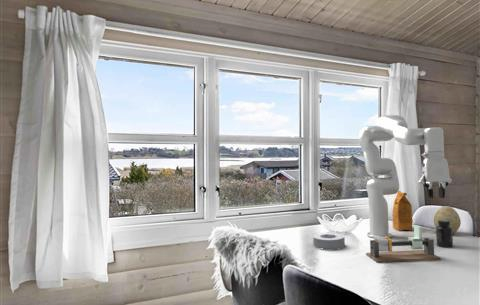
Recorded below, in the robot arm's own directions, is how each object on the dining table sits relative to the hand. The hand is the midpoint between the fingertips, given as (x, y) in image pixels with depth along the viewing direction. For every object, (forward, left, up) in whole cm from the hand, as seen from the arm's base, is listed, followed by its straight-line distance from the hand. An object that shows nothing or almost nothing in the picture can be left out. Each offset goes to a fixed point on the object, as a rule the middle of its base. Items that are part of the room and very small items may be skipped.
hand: (436, 197), depth 159 cm
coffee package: (-55, +11, -26) cm, 62 cm away
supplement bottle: (-15, +12, -26) cm, 32 cm away
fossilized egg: (-39, +28, -26) cm, 54 cm away
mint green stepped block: (0, -10, -22) cm, 24 cm away
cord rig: (0, -16, -25) cm, 30 cm away
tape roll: (-25, -41, -26) cm, 55 cm away
